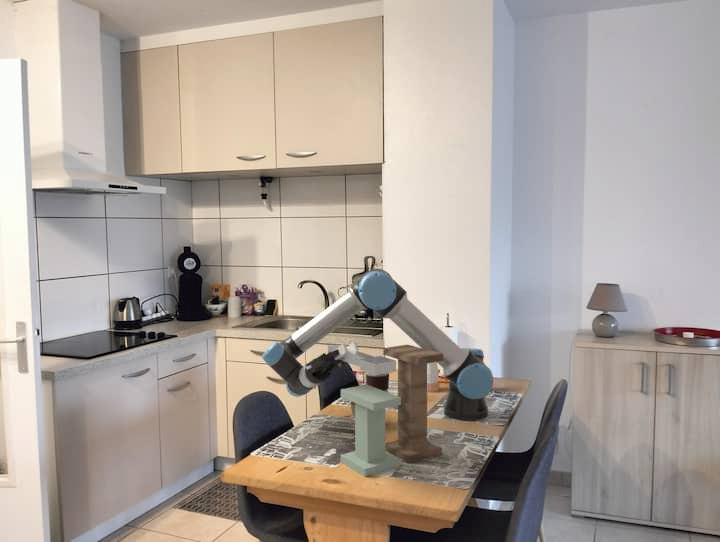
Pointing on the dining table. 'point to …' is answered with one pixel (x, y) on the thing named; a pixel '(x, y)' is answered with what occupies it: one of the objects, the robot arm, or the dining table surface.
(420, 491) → the dining table surface
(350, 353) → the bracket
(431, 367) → the pepper shaker
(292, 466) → the dining table surface
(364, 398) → the low stand
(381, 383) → the coffee cup
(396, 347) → the tall stand
